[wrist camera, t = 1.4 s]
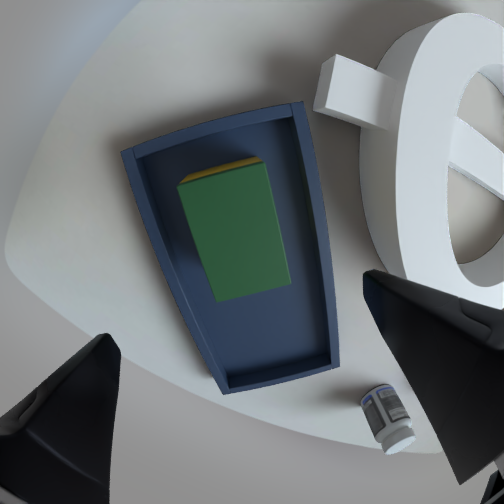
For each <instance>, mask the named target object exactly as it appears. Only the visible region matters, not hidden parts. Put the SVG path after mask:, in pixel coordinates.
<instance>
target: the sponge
mask: <svg viewBox="0 0 504 504" xmlns="http://www.w3.org/2000/svg"><path fill="white" fill-rule="evenodd" d="M176 188H177V191H178V194H179V197H180V200H181V203H182V207H183V210H184V213H185V216H186V219H187V222H188V225H189V228H190V231H191V234H192V237H193V240H194V243H195V246H196V248H197V251H198V254H199V257H200V260H201V263H202V266H203V268H204V271H205V274H206V277H207V279H208V282H209V285H210V288H211V290H212V293H213V296H214V298H215V301H216V302H221V301H225V300H229V299H234V298H238V297H242V296H246V295H250V294H254V293H258V292H262V291H266V290H270V289H274V288H278V287H281V286H285V285H289V284H291V278H290V273H289V268H288V263H287V258H286V253H285V248H284V244H283V239H282V234H281V230H280V225H279V220H278V216H277V211H276V207H275V202H274V198H273V194H272V189H271V185H270V181H269V176H268V172H267V168H266V164H265V162H264V161H262V160H261V159H259V158H258V157H257V156H255V157H251V158H247V159H243V160H239V161H235V162H231V163H227V164H224V165H220V166H216V167H213V168H209V169H206V170H202V171H199V172H195V173H192V174H189V175H187V176H186V177H185V178H184V179H183V180H182V181H181V182H180V183H179V184H178V185H177V187H176Z"/></svg>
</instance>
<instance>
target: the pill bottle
mask: <svg viewBox="0 0 504 504" xmlns="http://www.w3.org/2000/svg"><path fill="white" fill-rule="evenodd" d="M361 407H362V410H363V412H364V414H365V416H366V419H367V421H368V423H369V426H370V428H371V430H372V433H373V435H374V438H375V440H376V441H377V442H378V443H382V444H381V445H382V448H383V451H384V452H385V454H386V455H389V454H393V453H396V452H398V451H400V450H402V449H404V448H406V447H407V446H408V445H410V444H411V443H412V442H413V441H414V440H415V438H416V435H415V433H414V431H413V429H412V428H410V427H411V424H412V422H411V419H410V417H409V415H408V413H407V411H406V409H405V408H404V406H403V404H402V402H401V400H400V399H399V397H398V395H397V393H396V392H395V390H394V388H393V387H392V386H391V385H382V386H379V387H377V388H375V389H373V390H371V391H370V392H368V393H367V394H366V395H365V396H364V397H363V398H362V400H361Z"/></svg>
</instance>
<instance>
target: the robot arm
mask: <svg viewBox="0 0 504 504" xmlns="http://www.w3.org/2000/svg"><path fill="white" fill-rule="evenodd" d="M363 295H364V299H365V301H366V303H367V305H368V307H369V310H370V312H371V314H372V316H373V318H374V320H375V322H376V325H377V327H378V329H379V331H380V333H381V335H382V337H383V339H384V340H385V342H386V344H387V345H388V347H389V349H390V350H391V352H392V354H393V355H394V357H395V359H396V361H397V362H398V364H399V366H400V367H401V369H402V371H403V373H404V374H405V376H406V378H407V380H408V382H409V383H410V385H411V387H412V389H413V391H414V392H415V394H416V396H417V398H418V400H419V402H420V404H421V405H422V407H423V409H424V411H425V413H426V415H427V417H428V419H429V421H430V423H431V425H432V427H433V429H434V431H435V433H436V434H437V437H438V439H439V441H440V443H441V446H442V448H443V450H444V452H445V454H446V456H447V458H448V461H449V463H450V465H451V467H452V469H453V472H454V474H455V476H456V479H457V481H458V483H459V485H461V484H463V483H464V482H466V481H467V480H469V479H470V478H472V477H473V476H474V475H476V474H477V473H479V472H480V471H481V470H483V469H484V468H485V467H486V466H488V465H489V464H490V463H492V462H493V461H495V463H496V465H497V467H498V470H497V471H496V472H494V473H493V474H492V475H491V476H490V478H489V481H488V484H487V487H486V490H485V493H484V496H483V498H482V500H481V503H480V504H504V310H501V309H497V308H493V307H489V306H486V305H482V304H479V303H476V302H473V301H470V300H467V299H464V298H461V297H459V298H458V296H455V295H452V294H449V293H446V292H443V291H440V290H437V289H434V288H431V287H428V286H425V285H422V284H419V283H416V282H413V281H410V280H407V279H404V278H401V277H398V276H395V275H392V274H388V273H385V272H382V271H379V270H376V269H373V270H369V271H366V272H364V274H363ZM120 362H121V352H120V349H119V347H118V346H117V344H116V343H115V341H114V340H113V338H112V337H111V335H110V334H108V333H104V334H99V335H97V336H96V337H95V338H94V339H92V340H91V341H90V342H89V343H88V344H86V345H85V346H84V347H83V348H82V349H80V350H79V351H78V352H77V353H76V354H75V355H73V356H72V357H71V358H70V359H69V360H68V361H66V362H65V363H64V364H63V365H62V366H61V367H59V368H58V369H57V370H56V371H55V372H54V373H52V374H51V375H50V376H49V377H48V378H47V379H46V380H44V381H43V382H42V383H41V384H40V385H39V386H38V387H36V388H35V389H34V390H33V391H32V392H31V393H30V394H28V395H27V396H26V397H25V398H24V399H23V400H22V401H20V402H19V403H18V404H17V405H15V406H14V407H13V408H12V409H11V410H9V411H8V412H7V413H6V414H4V415H3V416H2V417H0V504H109V497H110V496H109V495H110V494H109V492H110V490H109V488H110V487H109V486H110V465H111V451H112V440H113V429H114V421H115V412H116V405H117V398H118V391H119V376H120Z"/></svg>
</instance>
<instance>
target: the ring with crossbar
mask: <svg viewBox="0 0 504 504" xmlns="http://www.w3.org/2000/svg"><path fill="white" fill-rule="evenodd" d="M476 72H479V73H481V74H483V75H484V76H485V77H487V78H488V79H489V80H490V81H491V82H492V83H493V84H494V85H495V86H496V87H497V88H498V89H499V91H500V92H501V93H502V95H503V96H504V28H503V27H502V26H501V25H499V24H498V23H496V22H494V21H493V20H491V19H489V18H487V17H484V16H481V15H478V14H474V13H457V14H453V15H450V16H447V17H444V18H441V19H438V20H435V21H432V22H430V23H427V24H424V25H422V26H419V27H417V28H414V29H412V30H410V31H408V32H407V33H405V34H404V35H402V36H401V37H400V38H399V39H397V40H396V41H395V42H394V43H393V44H392V46H391V47H390V48H389V49H388V51H387V52H386V53H385V55H384V56H383V58H382V60H381V61H380V63H379V65H378V67H377V69H376V70H374V69H372V68H370V67H368V66H365V65H363V64H361V63H358V62H356V61H353V60H351V59H348V58H346V57H343V56H340V55H338V54H336V55H334V56H332V57H331V58H329V59H328V60H326V61H325V62H323V63H322V68H321V72H320V77H319V82H318V86H317V91H316V96H315V100H314V105H313V109H312V110H313V111H316V112H319V113H322V114H326V115H329V116H332V117H335V118H338V119H341V120H344V121H347V122H350V123H352V124H355V125H358V126H361V133H360V148H359V171H360V185H361V195H362V201H363V208H364V212H365V217H366V221H367V225H368V229H369V232H370V235H371V238H372V241H373V244H374V246H375V249H376V251H377V253H378V255H379V257H380V259H381V261H382V263H383V264H384V266H385V268H386V269H387V271H388V272H389V274H392V275H395V276H398V277H401V278H404V279H407V280H410V281H413V282H416V283H419V284H422V285H425V286H428V287H431V288H434V289H437V290H440V291H443V292H446V293H449V294H452V295H455V296H458V298H459V297H461V298H464V299H467V300H470V301H473V302H476V303H479V304H482V305H486V306H489V307H493V308H497V309H501V310H502V309H503V308H504V234H503V235H502V237H501V238H500V240H499V241H498V242H497V243H496V244H495V246H494V247H493V248H492V249H491V250H489V251H488V252H487V253H486V254H485V255H483V256H482V257H480V258H478V259H477V260H474V261H472V262H469V263H464V264H457V262H456V260H455V257H454V253H453V249H452V245H451V240H450V234H449V225H448V212H447V179H448V166H449V167H451V168H453V169H454V170H456V171H458V172H460V173H461V174H463V175H465V176H466V177H468V178H470V179H471V180H473V181H475V182H476V183H478V184H480V185H481V186H483V187H484V188H486V189H487V190H489V191H490V192H492V193H493V194H495V195H496V196H498V197H499V198H501V199H502V200H503V201H504V153H502V152H501V151H500V150H499V149H498V148H497V147H496V146H494V145H493V144H492V143H491V142H490V141H489V140H487V139H486V138H485V137H484V136H482V135H481V134H480V133H479V132H477V131H476V130H475V129H473V128H472V127H471V126H469V125H468V124H467V123H465V122H464V121H463V120H461V119H460V118H458V117H457V116H456V114H457V110H458V107H459V104H460V100H461V98H462V95H463V93H464V90H465V88H466V86H467V84H468V83H469V81H470V79H471V78H472V77H473V75H474V74H475V73H476Z"/></svg>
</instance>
